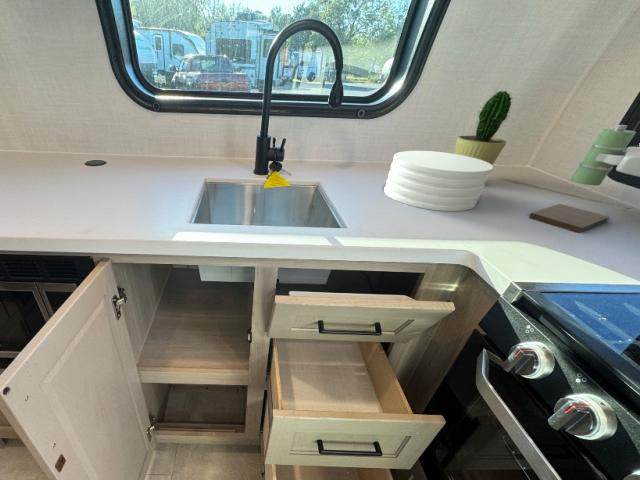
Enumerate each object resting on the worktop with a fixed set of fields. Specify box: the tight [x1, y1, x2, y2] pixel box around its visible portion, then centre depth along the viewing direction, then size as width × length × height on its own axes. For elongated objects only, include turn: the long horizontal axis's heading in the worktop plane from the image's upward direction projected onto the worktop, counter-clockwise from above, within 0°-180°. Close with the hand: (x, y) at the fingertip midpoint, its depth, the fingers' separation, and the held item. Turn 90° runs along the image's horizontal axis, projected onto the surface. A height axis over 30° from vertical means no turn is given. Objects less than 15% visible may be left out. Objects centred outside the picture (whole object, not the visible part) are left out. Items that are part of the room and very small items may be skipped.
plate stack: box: [383, 150, 494, 212], centre depth 103 cm, size 28×28×12 cm
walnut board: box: [528, 203, 610, 234], centre depth 91 cm, size 18×12×2 cm, turn 119°
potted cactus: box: [453, 90, 516, 166], centre depth 114 cm, size 15×15×30 cm
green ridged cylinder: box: [570, 124, 637, 186], centre depth 85 cm, size 7×7×14 cm
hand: (598, 154), depth 85 cm, fingers closed on green ridged cylinder, 6 cm apart
